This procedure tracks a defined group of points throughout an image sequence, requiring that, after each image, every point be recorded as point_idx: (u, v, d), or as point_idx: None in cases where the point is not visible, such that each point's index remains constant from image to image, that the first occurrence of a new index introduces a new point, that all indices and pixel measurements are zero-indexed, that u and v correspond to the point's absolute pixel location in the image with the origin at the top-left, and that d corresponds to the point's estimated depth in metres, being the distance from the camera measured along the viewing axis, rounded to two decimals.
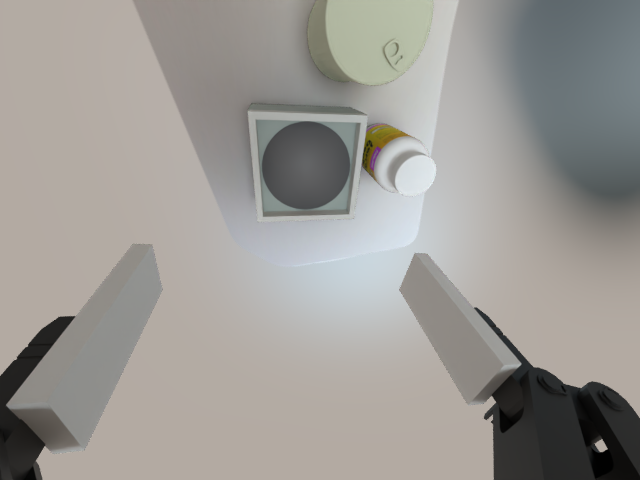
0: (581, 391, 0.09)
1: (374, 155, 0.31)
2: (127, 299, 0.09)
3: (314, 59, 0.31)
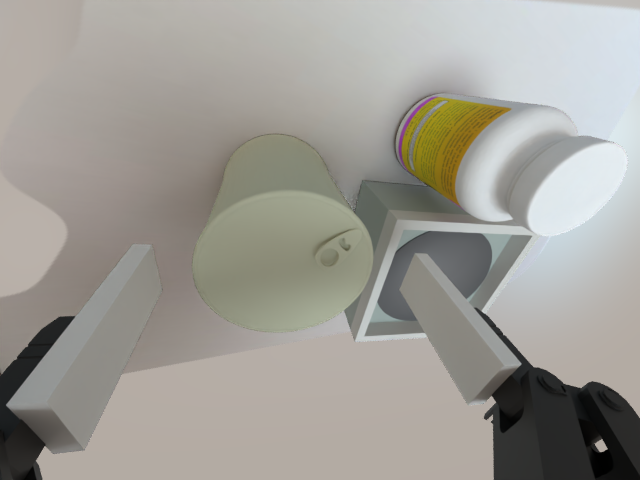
0: (581, 391, 0.09)
1: None
2: (127, 299, 0.09)
3: None
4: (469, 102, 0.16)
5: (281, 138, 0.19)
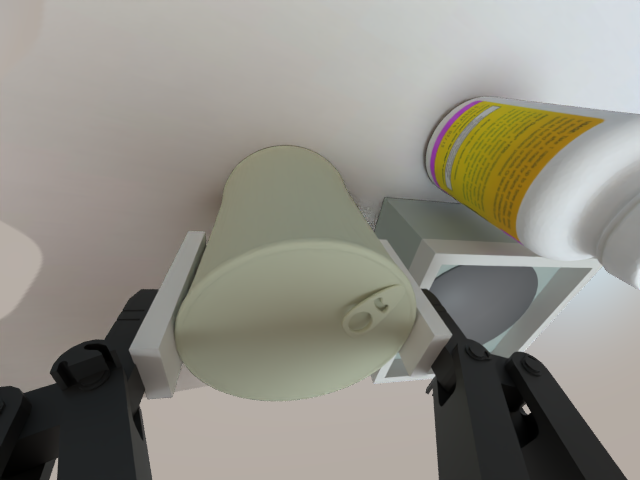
0: (507, 362, 0.09)
1: None
2: (193, 276, 0.11)
3: None
4: (532, 109, 0.13)
5: (292, 151, 0.16)
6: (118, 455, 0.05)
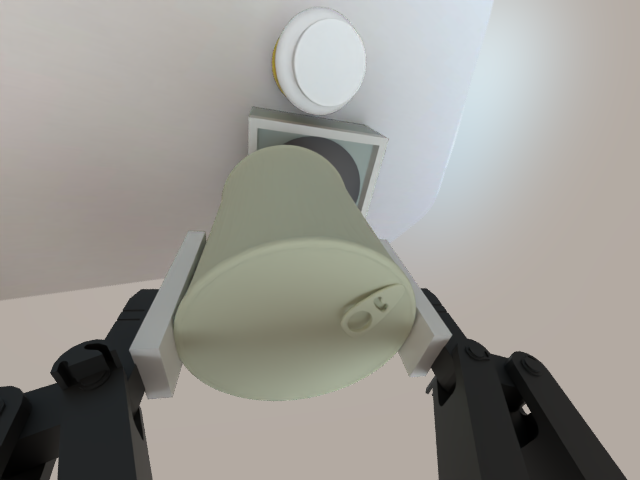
0: (507, 362, 0.09)
1: None
2: None
3: None
4: None
5: (291, 150, 0.16)
6: (118, 455, 0.05)
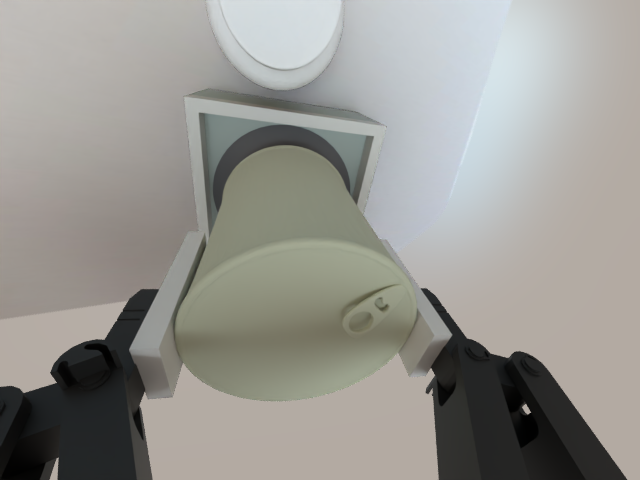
0: (507, 363, 0.09)
1: None
2: (193, 276, 0.11)
3: None
4: None
5: (292, 150, 0.16)
6: (118, 455, 0.05)
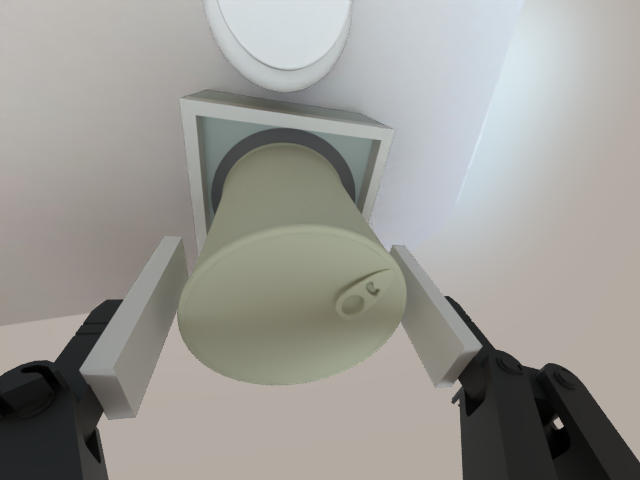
0: (539, 373, 0.09)
1: None
2: (164, 285, 0.10)
3: None
4: None
5: (289, 147, 0.17)
6: None
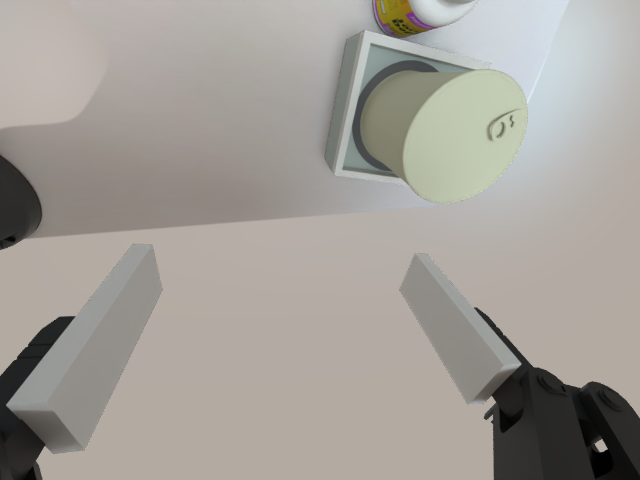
0: (581, 391, 0.09)
1: (417, 22, 0.22)
2: (127, 299, 0.09)
3: None
4: None
5: None
6: None
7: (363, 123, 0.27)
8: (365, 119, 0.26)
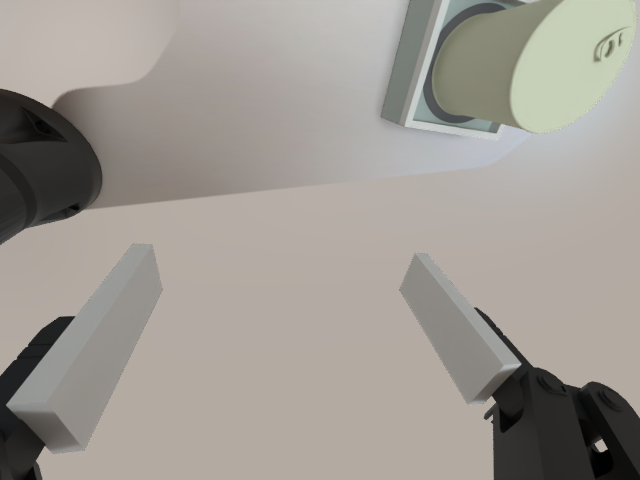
0: (581, 391, 0.09)
1: None
2: (127, 299, 0.09)
3: None
4: None
5: None
6: None
7: (438, 69, 0.27)
8: (441, 65, 0.26)
